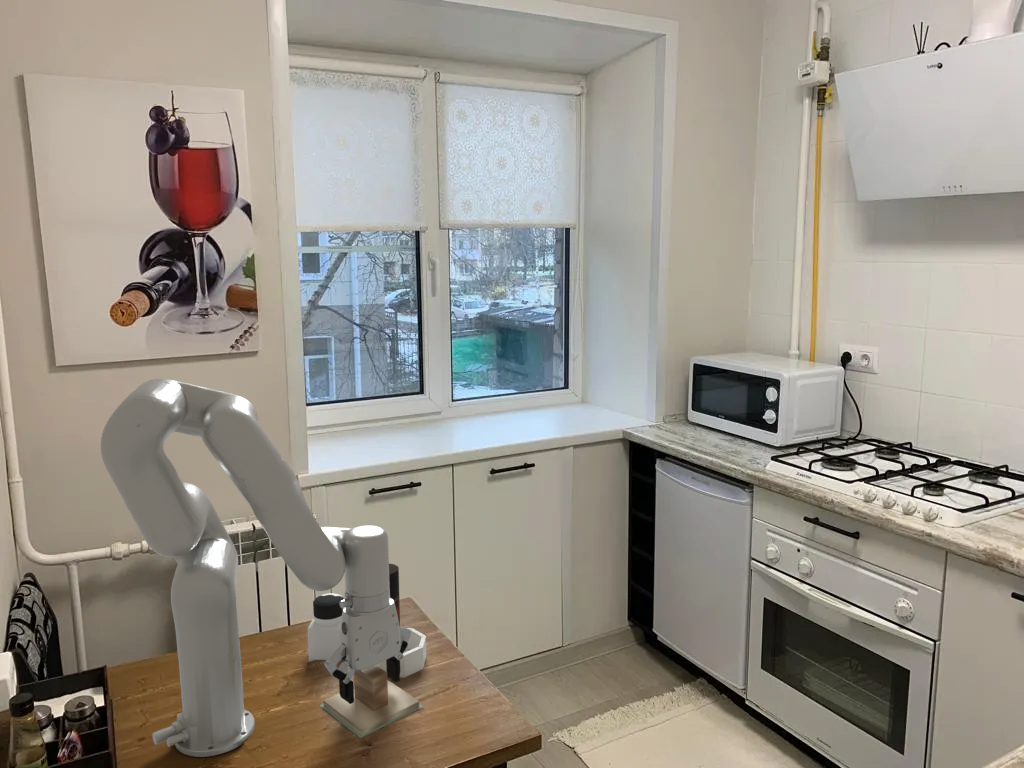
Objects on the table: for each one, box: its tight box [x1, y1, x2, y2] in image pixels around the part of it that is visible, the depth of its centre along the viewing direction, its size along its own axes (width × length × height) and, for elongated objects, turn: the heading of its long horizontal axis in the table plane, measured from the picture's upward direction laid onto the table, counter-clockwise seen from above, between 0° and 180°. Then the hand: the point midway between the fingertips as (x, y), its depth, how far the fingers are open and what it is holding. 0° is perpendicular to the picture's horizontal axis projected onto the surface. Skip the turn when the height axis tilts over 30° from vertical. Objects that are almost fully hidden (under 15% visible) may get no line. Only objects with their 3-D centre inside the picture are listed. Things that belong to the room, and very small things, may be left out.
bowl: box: [375, 627, 427, 678], centre depth 152 cm, size 11×11×5 cm
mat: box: [319, 703, 424, 739], centre depth 138 cm, size 13×13×1 cm
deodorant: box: [389, 563, 401, 627], centre depth 162 cm, size 6×6×15 cm
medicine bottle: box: [306, 592, 345, 663], centre depth 156 cm, size 7×7×12 cm
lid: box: [323, 665, 420, 735], centre depth 137 cm, size 12×12×7 cm
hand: (370, 689), depth 137 cm, fingers open, 9 cm apart
